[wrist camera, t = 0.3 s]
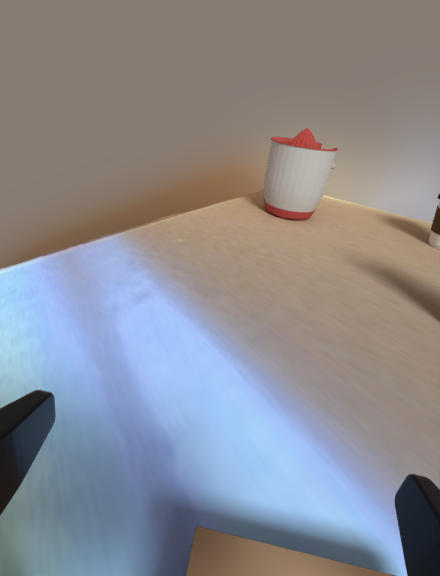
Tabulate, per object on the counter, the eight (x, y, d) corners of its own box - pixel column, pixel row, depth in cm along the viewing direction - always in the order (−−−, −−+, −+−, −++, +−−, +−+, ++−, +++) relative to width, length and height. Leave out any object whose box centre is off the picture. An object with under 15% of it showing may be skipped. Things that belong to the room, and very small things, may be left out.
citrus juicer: (336, 223, 83) (363, 137, 73) (276, 224, 76) (297, 129, 66) (301, 204, 95) (320, 127, 85) (247, 203, 88) (261, 120, 78)
